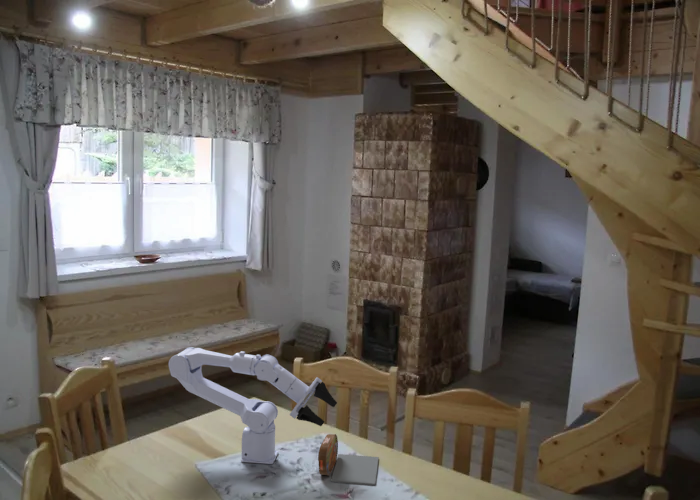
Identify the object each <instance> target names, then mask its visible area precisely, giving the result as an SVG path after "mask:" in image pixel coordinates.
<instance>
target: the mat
mask: <svg viewBox="0 0 700 500" xmlns="http://www.w3.org/2000/svg"><path fill="white" fill-rule="evenodd" d="M379 458H380V457H379V456H368V455H359V454H358V455H357V454H355V455H354V454H345V453H344V454H343V453H338V454H337V460H336V463H335V465H334V468H333V471H332V472H333V473H332V475H331V476H332V477H331V479H330V481H331V483H343V484H353V485H365V486H366V485H367V486H376V481H377V474H378V465H379Z"/></svg>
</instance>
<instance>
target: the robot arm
mask: <svg viewBox="0 0 700 500" xmlns="http://www.w3.org/2000/svg"><path fill="white" fill-rule="evenodd" d="M205 365H206V366H215V367H224V368H230V370H231V371H232V372H233V373H237V374H243V375H249V376H256V378H257V380H259V381H267V382H269V384H271V385H272V386H274V387H275V388H277V390H279V391H280V392H282V393H283V394H284V395H285V396H286V397H288V398H289V399H291V400H292V401H294V402H295V403H296V404H295V406H294V408H293V409H292V410H291V411H290V413H289V416H291V417H292V418H293V419H294V420H298V421H302V422H303V421H305V422H309V423H311V424H314V425H317V426H319V427H322V426H323V425H324V424H325V421H324V419H322V418H321V416H318V415H317V414H316V413H315V412H314V411H313V410H312V409H311V408H310V407H309V406H308V404H307V402H308V401H309V400H310V398H311V397H312V395H313V397H315V398H318V399H320V400H322V401H324V402H325V403H326V404H327V405H329V406H330V407H332V408H335V406H336V405H337V404H338V402H337V401H336V399H335V398H334V397H333V396H332V394H331V393H330V391H329V390H328V388H327V386H326V383H325V382H324V381H322V379H320V377H318V376H317V377H316V378H315V379H314V381H312V383H311V384H310V385H309V386H308V384H306V383H305V382H303V381H302V380H300V379H299V378H298V377H297V376H296V375H294V374H293V373H292V372H290V371H289V370H287V368H284V367H283V366H282V365H280V364H279V361H278V359H277V357H275V356H273V355H270V354H267V353H266V354H263V355H262V356H261V354H256V355H254V354H250V353H249V354H248V353H246V351H243V350H241V351H240V352H236V353H234V354H233V355H232V354H231V355H229V354H225V353H221V352H215V351H211V350H207V349H204V348H202V347H193V346H189V347H186V348H184V350H182V351H180V352H179V353H177V354H174V355H173V356H171V357H170V359H169V360H168V370H169V373H170V376H171V377H172V378H175V379H177V380H178V382H179V383H180V384H181V385H182V386H183V388H185V390H186V391H188V393H191V394H193V395H196V396H197V397H198V398H199V397H200V398H202V399H204V400H205V401H208V402H210V403H211V404H213V405H215V406H216V405H217V406H218V407H220V408H222V409H225V410H226V411H229V412H230V413H232V414H235V415H237V416H239V417H240V419H241V422H242V424H244V425H246V426H245V427H244V428H243V430H242V435H241V459H240V462H242V463H251V464H253V463H254V464H266V465H273V464H274V462H275V460H276V459H277V456H278V454H279V450H276V425H275V420H276V419H277V417H278V415H279V411H278V407H277V405H276V404H275V403H274V402H272V401H268V400H267V401H264V400H261V399H259V398H255V399H254V398H253V399H251V398H250V399H249V398H247V397H245V396H243V395H241V394H239V393H237V392H235V391H233V390H231V389H228V388H227V387H224V386H222V385H220V384H219V383H216V382H213V381H212V380H210V379H207V378H205V377H204V376H203V372H202V367H203V366H205ZM307 396H308V397H307ZM305 398H306V399H305Z"/></svg>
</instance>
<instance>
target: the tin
mask: <svg viewBox="0 0 700 500" xmlns="http://www.w3.org/2000/svg"><path fill="white" fill-rule="evenodd" d="M338 443H339V440H338V435H337V433H336V434H331V433H329V434H326V435H325V437H324V439H323V441H322V442H321V445H320V447H319V450H318V455H317V456H318V457H317V461H318V473H319V474H320V475H321V476H330V475H331V474H332V472H333V470H334V468H335V465H336V461H337V458H338V454H339V451H338V450H339V444H338Z"/></svg>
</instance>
